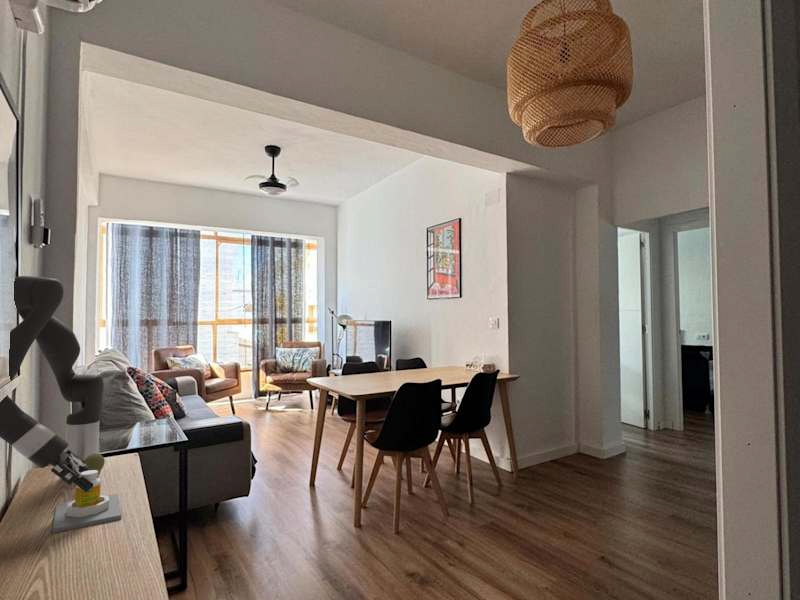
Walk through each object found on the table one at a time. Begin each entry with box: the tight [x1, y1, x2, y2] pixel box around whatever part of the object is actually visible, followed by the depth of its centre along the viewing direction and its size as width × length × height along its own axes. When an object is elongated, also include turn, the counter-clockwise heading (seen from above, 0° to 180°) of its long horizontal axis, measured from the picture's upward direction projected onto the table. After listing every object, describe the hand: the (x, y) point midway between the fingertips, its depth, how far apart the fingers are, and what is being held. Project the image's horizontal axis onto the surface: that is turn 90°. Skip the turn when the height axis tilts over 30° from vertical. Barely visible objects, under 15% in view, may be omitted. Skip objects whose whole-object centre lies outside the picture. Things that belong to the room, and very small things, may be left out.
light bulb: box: [84, 453, 106, 479], centre depth 136 cm, size 6×6×10 cm
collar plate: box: [52, 493, 122, 534], centre depth 116 cm, size 18×14×3 cm
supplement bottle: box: [74, 470, 102, 507], centre depth 116 cm, size 5×5×10 cm
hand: (92, 483), depth 117 cm, fingers open, 8 cm apart
